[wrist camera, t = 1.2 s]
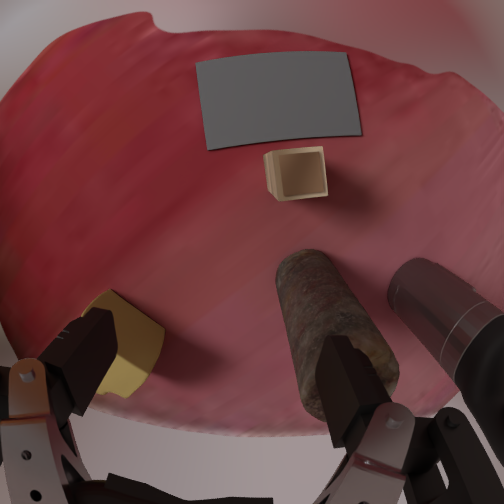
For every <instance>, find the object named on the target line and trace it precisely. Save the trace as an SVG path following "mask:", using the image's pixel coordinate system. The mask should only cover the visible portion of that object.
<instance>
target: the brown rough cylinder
mask: <svg viewBox="0 0 504 504" xmlns="http://www.w3.org/2000/svg"><path fill="white" fill-rule="evenodd" d="M275 280H276V288H277V292H278V297H279V302H280V306H281V310H282V314H283V318H284V322H285V326H286V331H287V336H288V341H289V345H290V349H291V354H292V359H293V363H294V368H295V373H296V377H297V383H298V388H299V393H300V398H301V402H302V404H303V407H304V408H305V410H306V411H307V412H308V413H309V414H311V415H312V416H314V417H315V418H317V419H318V420H320V421H323V422H327V421H326V417H325V414H324V410H323V406H322V403H321V399H320V396H319V392H318V388H317V385H316V381H315V369H316V365H317V362H318V359H319V356H320V353H321V349H322V346H323V343H324V340H325V338H326V336H327V335H346V336H348V337H349V339H350V341H351V343H352V345H353V347H354V348H359V349H360V350H361V351H362V352H364V353H365V354H366V355H367V356H368V357H369V359H370V361H371V363H372V364H373V368H375V370H376V372H377V375H379V377H380V379H381V381H382V383H383V385H384V387H385V388H386V390H387V392H388V394H389V396H390V397H391V395H392V394H393V392H394V391H395V388H396V386H397V382H398V379H399V374H400V372H399V364H398V362H397V360H396V358H395V356H394V353H393V351H392V350H391V348H390V347H389V345H388V343H387V342H386V340H385V339H384V337H383V336H382V335H381V333H380V331H379V330H378V329H377V327H376V326H375V324H374V323H373V322H372V320H371V318H370V317H369V315H368V314H367V312H366V311H365V309H364V308H363V307H362V305H361V304H360V303H359V301H358V300H357V298H356V297H355V295H354V294H353V293H352V291H351V290H350V289H349V287H348V285H347V284H346V283H345V281H344V280H343V278H342V277H341V275H340V274H339V272H338V271H337V270H336V268H335V267H334V265H333V264H332V263H331V262H330V260H329V259H328V258H327V257H326V256H325V255H324V254H323V253H322V252H320V251H317V250H314V249H305V250H301V251H299V252H296V253H294V254H292V255H290V256H288V257H287V258H285V259H284V260H283V261H282V262H281V264H280V265H279V267H278V269H277V272H276V279H275Z"/></svg>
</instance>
